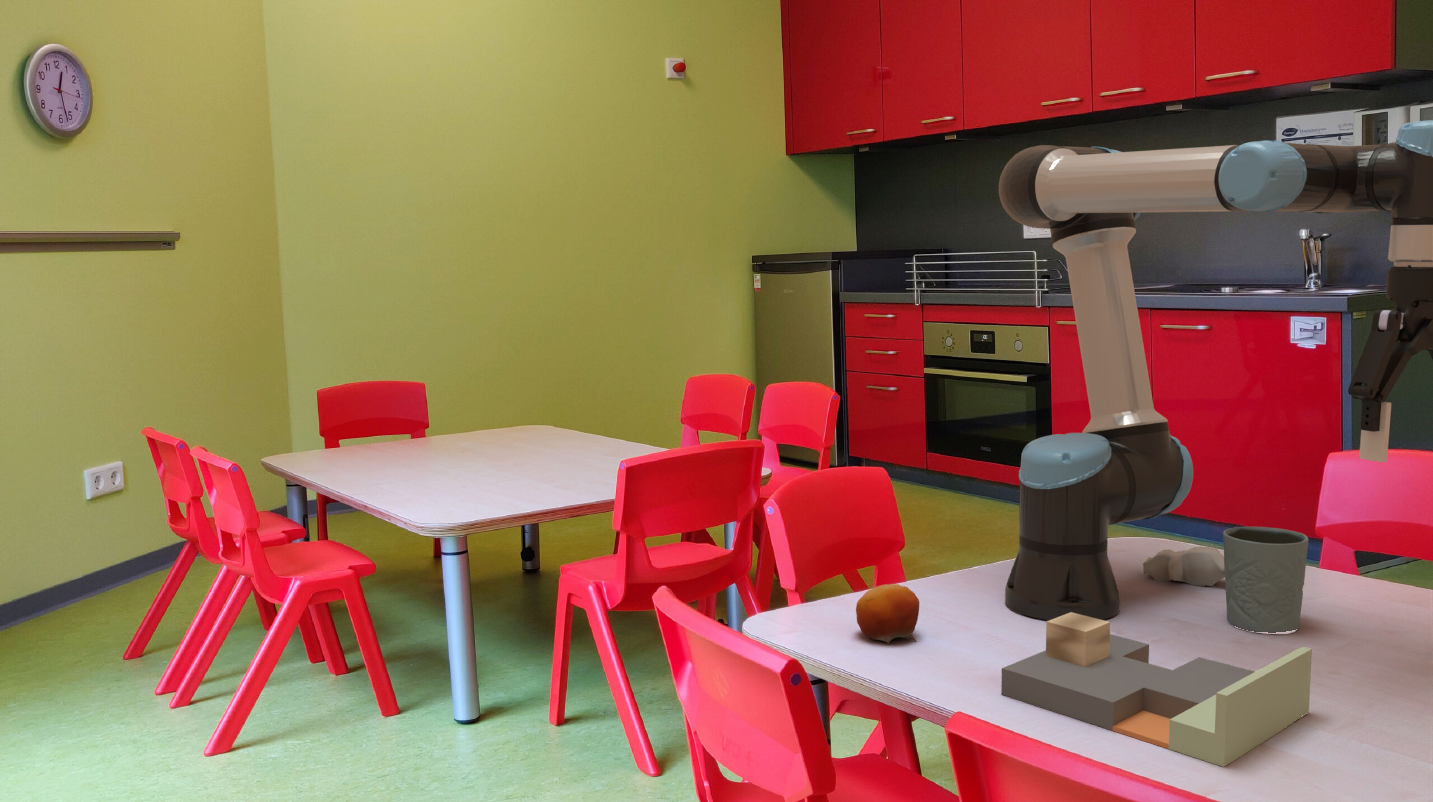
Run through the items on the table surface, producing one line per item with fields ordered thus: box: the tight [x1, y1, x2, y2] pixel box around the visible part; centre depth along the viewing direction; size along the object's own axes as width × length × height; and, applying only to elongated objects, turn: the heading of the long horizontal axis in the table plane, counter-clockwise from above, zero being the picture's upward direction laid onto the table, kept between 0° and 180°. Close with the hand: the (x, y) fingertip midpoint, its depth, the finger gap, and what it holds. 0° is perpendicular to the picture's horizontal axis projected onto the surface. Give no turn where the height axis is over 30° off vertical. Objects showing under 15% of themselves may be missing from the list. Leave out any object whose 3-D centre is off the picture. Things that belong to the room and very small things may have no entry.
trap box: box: [1000, 633, 1313, 768], centre depth 124 cm, size 25×19×7 cm
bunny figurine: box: [1142, 546, 1225, 587], centre depth 169 cm, size 10×5×15 cm
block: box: [1045, 612, 1111, 667], centre depth 130 cm, size 5×5×4 cm
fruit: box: [855, 583, 920, 645], centre depth 147 cm, size 8×8×8 cm
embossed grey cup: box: [1222, 526, 1309, 633], centre depth 149 cm, size 10×10×12 cm
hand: (1412, 455), depth 129 cm, fingers open, 13 cm apart
